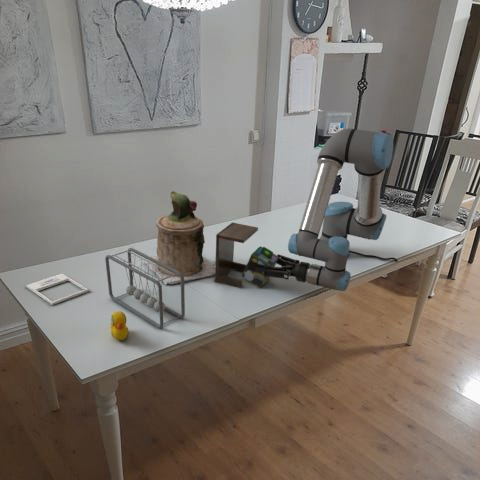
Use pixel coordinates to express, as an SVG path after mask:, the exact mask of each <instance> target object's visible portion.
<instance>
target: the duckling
mask: <svg viewBox="0 0 480 480" xmlns="http://www.w3.org/2000/svg"><path fill="white" fill-rule="evenodd" d="M110 318H111V319H110V320H111V322H110V333H111V337H112V338H114V339H115V340H117V341H123V340H126V339H127V338H128V335H129V333H130V331H129V327H128V326H127V315H126V314H125V313H124V312H123V311H114V312H113V313H112V314H111V317H110Z"/></svg>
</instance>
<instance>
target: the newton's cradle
mask: <svg viewBox="0 0 480 480" xmlns="http://www.w3.org/2000/svg"><path fill="white" fill-rule="evenodd" d="M125 253H127V258H121V257H120V256H118V255H122V254H125ZM132 255H133V256H132ZM133 257H134V258H135V257H137V258H139V259H138V260H134V261H133V262H132V258H133ZM151 257H152V256H149V255H147V254H145V253H143V252H141V251H140V250H137V249H135V248H133V247H129V248H128V249H127V250H125V251H122V252H119V253H115V254H112V255H110V254H106V256H105V259H104V260H105V269H106V280H107V286H108V288H107V289H108V294H109V297H110V299H111V300H112V301H114V302H115V303H117V304H119V305H121V306H122V307H123V308H125V309H127V310H128V311H130V312H132V313H133V314H135V315H136V316H138V317H140V318H141V319H143V320H145V321H146V322H148V323H149V324H151V325H153V326H154V327H156V328H157V329H162V328H163V327H164V325H166V324H169V323H170V322H172V321H174V320H177V319H183V318H185V313H186V309H185V308H186V306H185V305H186V304H185V303H186V301H185V281H184V277H183V275H182V273H181V272H179V271H177V270H175V269H173V268H171V267H169V266H167V265H165V264H163V263H161V262H159V261H157V260H155V259H153V258H151ZM144 258H146V259H148V260H150V261H152V262H154V263H156V264H158V265H160V266H162V267H164V268H166V269H168V270H170V271H172V272H174V273H176V274H173V273H171V272H169V271H167V270H165V269H163V268H161V267H159V266H157V265H155V264H153V263H151V262H149V261H147V260H145V259H144ZM126 259H127V260H126ZM110 260H111V261H113V262H115V263H117V264H118V265H120V266H122V267H124V269H125V271H126V274H127V279H128V283H129V285H128V286H127V287H126V289H125V291H126V293H123V294H122V295H118V296H116V297H115V296H114V294H113V288H112V277H111V267H110ZM144 260H145V261H147V262H149V263H151V264H153V265H155V266H156V267H159V268H161V269H163V273H164V270H165V271H167V272H169V273H170V274H172V275H171V276H169V277H172V276H175V275H177V274H178V275H179V276H180V278H181V282H180V305H181V306H180V309H181V310H180V311H181V314H180V313H178V312H176V311H175V310H173V309H171V308H169V307H167V306H166V305H165V303H164V301H163V285H162V283H164V282H163V280H164V279H167V278H169V277H166V278H162V279H160V277H158V276H156V275H157V274H156V271H155V272H154V273H153V274H152V273H150V271H149V270H151V268H149V266H148V265H147V264H148V263H147V264H145V263H144V264H143V262H141V263H140V265H138V266H136V265H135V264H136V262H140V261H144ZM145 261H144V262H145ZM144 265H147V267H148V268H147V269H145V270H144V269H143V268H142V267H143V266H144ZM153 268H154V267H153ZM127 269H128V271H127ZM160 272H161V271H160ZM157 273H158V272H157ZM135 274H137V275H138V277H139V281H140V283H139V285H138V286H137V283H136V278H135ZM142 277H143V278H144V279H146V285H145V290H144V287H143V284H142V279H141V278H142ZM148 281H150V282H152V283H153V288H154V289H153V290H152V294H151V290H150V286H149V282H148ZM160 282H161V283H160ZM134 283H135V285H134ZM140 285H141V286H140ZM156 286H157V288H158V289H157V288H156ZM138 287H139V288H138ZM140 287H142V289H140ZM147 288H148V291H149V293H147V292H145V291H147ZM156 289H157V290H158V293H157V290H156ZM154 293H155V294H156V297H155V296H152V295H155V294H154ZM126 295H128V296H132V297H133V298H134V299H135V300H137V301H140V302H141V303H142V304H146V305H147V307H149V308H151V309H154V311H156V312H157V313H159V323H157V322H156V321H154V320H152V319H151V318H149V317H147V316H146V315H144V314H142V313H140V312H139V311H138V310H136V309H134V308H133V307H132V306H129V305H128V304H127V303H125V302H123V301H121V300H119V299H118V298H121V297H123V296H126ZM164 310H165V311H166V312H168V313H170V314H171V315H173V316H174V318H172V319H170V320H168V321H164Z"/></svg>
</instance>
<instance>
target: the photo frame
mask: <svg viewBox="0 0 480 480" xmlns="http://www.w3.org/2000/svg"><path fill="white" fill-rule="evenodd" d="M65 282H70V283H71V284H73V285H75V286H76V287H78V288H80V289H81V290H79V291H77V292H74V293H71V294H68V295H66V296H63V297H61V298H58V299H56V300H53V301H52V300H51V298H48V297H47V296H46V295H44V294H42V293H41V292H39V291H43V290H45V289H48V288H51V287H54V286H57V285H60V284H63V283H65ZM26 289H28V290H29V291H31V292H33V293H34V294H36V295H37V296H38V297H40V298H41V299H43V300H44V301H45V302H47V303H48V304H50V305H51V306H54V305H56V304H59V303H62V302H64V301H67V300H70V299H73V298H75V297H78V296H81V295H83V294H86V293H88V292H89V289H88V288H87V287H86V286H84V285H82V284H80V283H79V282H78V281H76V280H74V279H72V278H70V277H69V276H67V275H65V274H64V273H59V274H56V275H53V276H50V277H46V278H44V279H40V280H38V281H35V282H32V283H29V284H26Z"/></svg>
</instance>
